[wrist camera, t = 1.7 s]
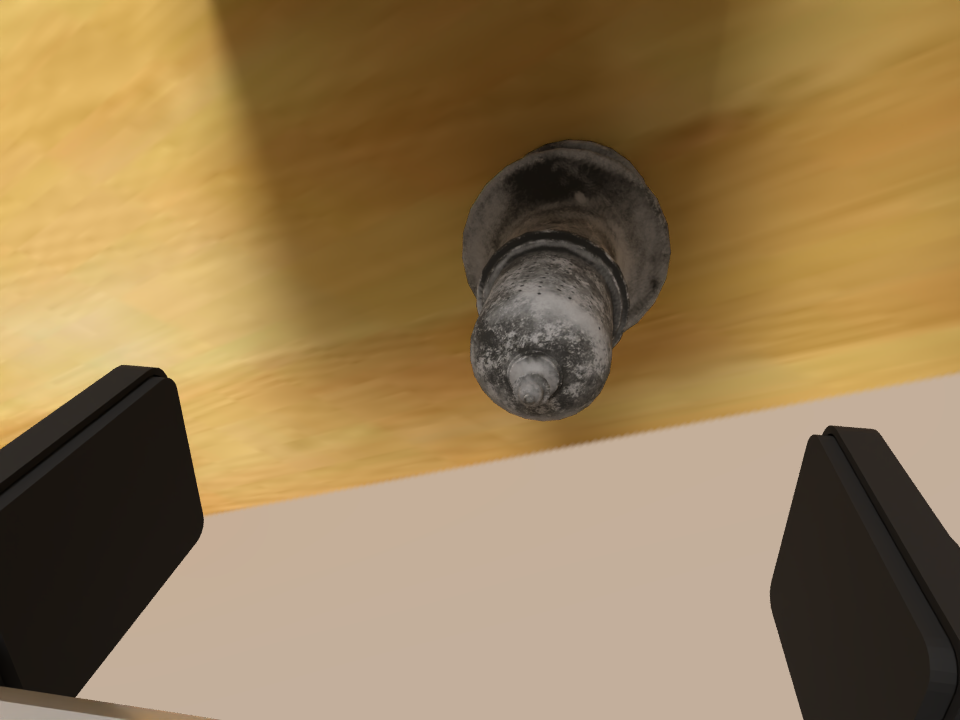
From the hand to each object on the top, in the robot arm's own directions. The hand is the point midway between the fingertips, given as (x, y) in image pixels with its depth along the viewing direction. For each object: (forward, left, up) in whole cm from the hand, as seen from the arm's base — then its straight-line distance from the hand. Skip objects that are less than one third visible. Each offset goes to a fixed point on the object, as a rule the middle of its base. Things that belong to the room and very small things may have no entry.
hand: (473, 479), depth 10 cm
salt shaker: (-1, 0, -15) cm, 14 cm away
